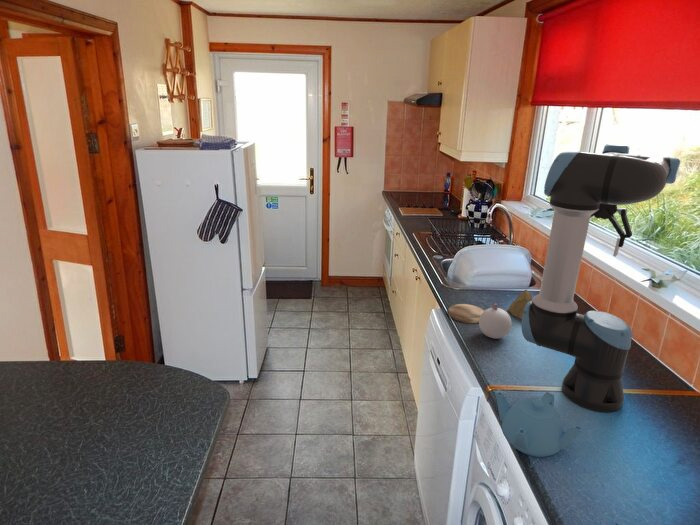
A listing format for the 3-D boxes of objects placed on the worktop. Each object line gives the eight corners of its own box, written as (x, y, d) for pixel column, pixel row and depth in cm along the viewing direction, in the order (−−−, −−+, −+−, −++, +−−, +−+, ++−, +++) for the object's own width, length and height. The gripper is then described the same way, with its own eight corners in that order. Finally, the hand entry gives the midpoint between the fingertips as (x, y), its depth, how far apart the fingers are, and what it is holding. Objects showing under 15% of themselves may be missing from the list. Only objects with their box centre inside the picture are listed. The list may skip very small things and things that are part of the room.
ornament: (471, 332, 161) (475, 301, 157) (493, 327, 165) (498, 296, 161) (492, 346, 152) (497, 313, 148) (515, 340, 157) (520, 307, 153)
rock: (541, 319, 167) (538, 305, 176) (530, 301, 165) (527, 288, 174) (514, 331, 172) (512, 316, 181) (502, 313, 170) (501, 299, 179)
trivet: (477, 326, 165) (477, 323, 165) (441, 315, 173) (442, 312, 173) (492, 314, 176) (492, 310, 175) (458, 303, 184) (458, 300, 183)
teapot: (578, 463, 104) (588, 423, 100) (513, 464, 103) (521, 424, 99) (547, 419, 118) (555, 383, 114) (489, 419, 117) (495, 383, 113)
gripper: (651, 195, 151) (636, 257, 158) (571, 184, 166) (560, 241, 173) (647, 198, 146) (631, 262, 153) (565, 187, 161) (554, 245, 168)
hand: (593, 251), depth 163 cm, fingers open, 13 cm apart
